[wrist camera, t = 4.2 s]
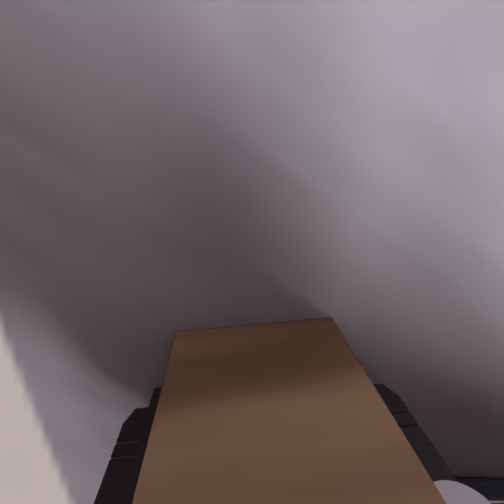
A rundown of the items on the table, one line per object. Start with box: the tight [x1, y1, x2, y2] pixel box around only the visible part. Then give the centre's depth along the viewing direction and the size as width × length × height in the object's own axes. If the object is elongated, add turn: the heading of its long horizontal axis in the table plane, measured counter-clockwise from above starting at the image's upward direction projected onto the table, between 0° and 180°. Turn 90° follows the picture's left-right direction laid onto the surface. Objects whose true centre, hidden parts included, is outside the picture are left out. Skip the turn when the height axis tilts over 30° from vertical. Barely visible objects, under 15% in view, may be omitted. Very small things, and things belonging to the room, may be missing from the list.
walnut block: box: [132, 318, 447, 504], centre depth 8 cm, size 4×4×6 cm
